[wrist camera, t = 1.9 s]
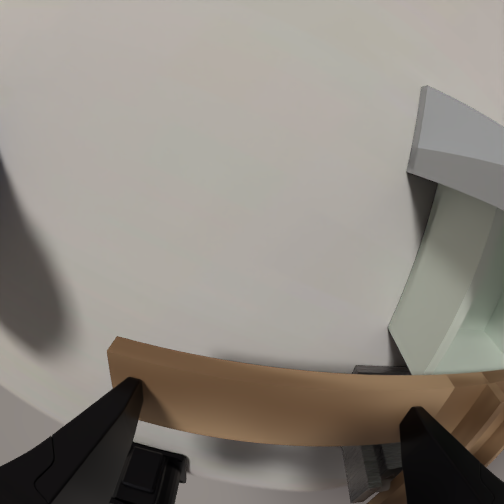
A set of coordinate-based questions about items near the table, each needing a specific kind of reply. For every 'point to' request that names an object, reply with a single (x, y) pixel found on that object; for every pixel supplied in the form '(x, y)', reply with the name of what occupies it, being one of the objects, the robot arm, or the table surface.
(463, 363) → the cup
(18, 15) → the table surface
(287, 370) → the lever
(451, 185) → the backboard
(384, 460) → the fulcrum
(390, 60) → the table surface
